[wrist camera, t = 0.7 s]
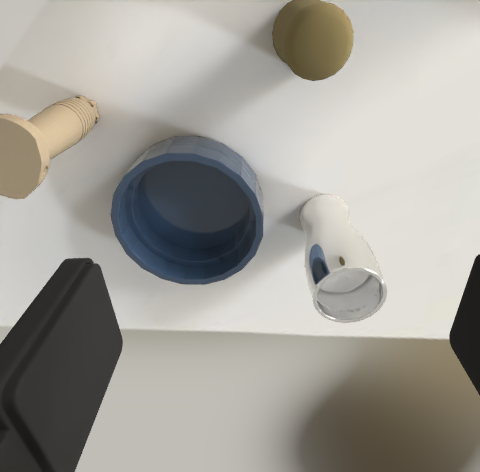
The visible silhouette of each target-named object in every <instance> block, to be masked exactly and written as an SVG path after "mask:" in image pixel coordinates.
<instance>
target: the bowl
mask: <svg viewBox="0 0 480 472" xmlns="http://www.w3.org/2000/svg"><path fill="white" fill-rule="evenodd" d="M111 219H112V223H113V227H114V231H115V235H116V237H117V239H118V241H119V242H120V244H121V245H122V247H123V249H124V250H125V252H126V254H127V255H128V256H129V257H130V258H132V259H133V260H134V261H135V262H136V263H137V264H138V265H139V266H140V267H141V268H143V269H144V270H146V271H148V272H150V273H152V274H154V275H156V276H158V277H159V278H161V279H164V280H168V281H172V282H176V283H180V284H209V283H213V282H217V281H221V280H224V279H227V278H228V277H230V276H232V275H233V274H235V273H237V272H239V271H240V270H242V269H243V268H244V267H245V266H246V265H247V263H248V262H249V261H250V260H251V259H252V258H253V257H254V256H255V254H256V252H257V250H258V247H259V245H260V242H261V240H262V237H263V195H262V191H261V188H260V185H259V182H258V179H257V176H256V174H255V173H254V171H253V170H252V169H251V167H250V166H249V165H248V164H247V162H246V161H245V160H244V158H243V157H242V156H240V155H239V154H237V153H236V152H234V151H233V150H232V149H230V148H229V147H227V146H226V145H224V144H222V143H219V142H216V141H213V140H210V139H206V138H203V137H199V136H192V137H173V138H170V139H167V140H164V141H162V142H159V143H156V144H154V145H153V146H151V147H150V148H149V149H148V150H146V151H145V152H144V153H143V154H142V155H140V156H139V157H138V158H137V160H136V161H135V162H134V163H133V165H132V166H131V167H130V169H129V170H128V171H127V173H126V174H125V175H124V177H123V178H122V180H121V182H120V184H119V186H118V187H117V189H116V191H115V193H114V195H113V202H112V209H111Z"/></svg>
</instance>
